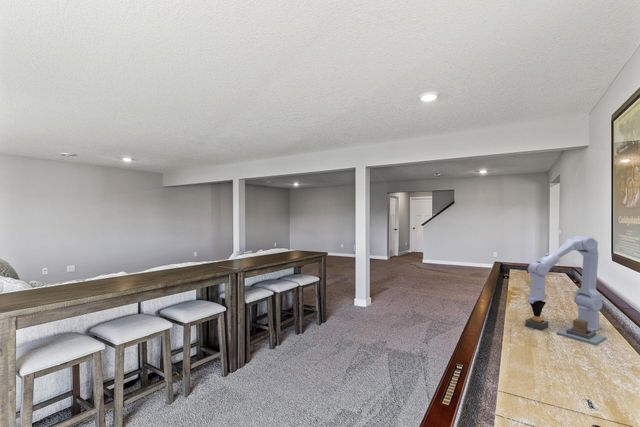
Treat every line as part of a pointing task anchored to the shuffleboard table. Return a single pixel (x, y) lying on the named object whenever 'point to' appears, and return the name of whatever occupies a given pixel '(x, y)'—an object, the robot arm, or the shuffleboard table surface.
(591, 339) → the board
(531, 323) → the control box
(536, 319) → the button
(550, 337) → the shuffleboard table surface
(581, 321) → the block
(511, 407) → the shuffleboard table surface
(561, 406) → the shuffleboard table surface
